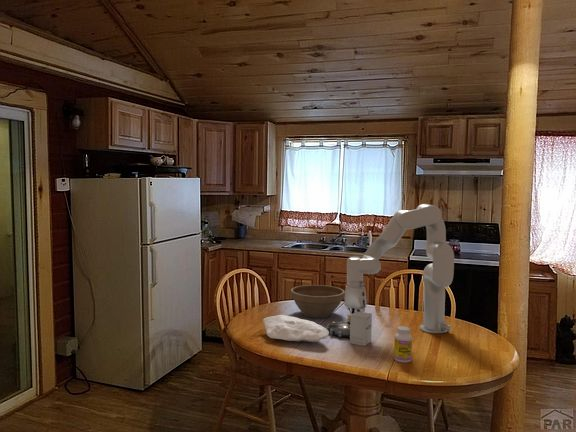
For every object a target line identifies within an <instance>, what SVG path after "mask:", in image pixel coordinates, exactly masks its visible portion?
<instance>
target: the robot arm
mask: <svg viewBox="0 0 576 432" xmlns="http://www.w3.org/2000/svg"><path fill="white" fill-rule="evenodd" d="M422 227H425V229H426V250H425V253H426V257H427V258H428V259H429V260H431V261H432V263H429V264H427V265H426V266H425V267H424V269H423V272H422V280H423V317H422V318H423V321H422V322H423V323H422V324H420V325H419V329H420V331H422V332H425V333H429V334H445V333H447V332H448V331H450V332H451V331H452V325H449V324H447V321H446V320H445V311H446V309H445V308H446V307H445V306H446V304H445V303H446V289H445V288H448V287H450V285H451V284H452V282H453V279H454V273H455V271H454V270H455V252H454V249H453V248H452V246H451V245H449V244H448V243H447V237H446V236H447V229H446V225H445V221H444V219H443V217H442V211H441V209H440V208H439V206H436V205H433V204H429V203H422V204H419V205H418V206H417V207H416V209H411V210H406V209H400V210H397V211H396V212H395V213H394V214H393V215H392V217H391V219H390V220H389V222H388V223H387V225H386V226H385V228H384V229H383V230H382V232H381V234H380V235H379V236H377V238H376V239H375V240H374V241H373V242H372V243H371V244H370V245H369V246H368V248H367V249H366V251H365V252H364V254H363V255H362V257H359V256H352V257H348V258H347V260H346V286H345V290H344V291H345V296H344V299H343V301H344V306H345V309H347V310H348V311H349V314H350V315H352V314H353V313H355V312H365V311H366V308H367V305H368V304H367V293H366V288H365V285H366V283H365V282H364V274H368V275H376V274H378V273H380V271H381V269H382V264H381V262H380V258H381V257H382V256H383V254H384V253H385V252H387V251H388V250H391V249H392V248H394V247H395V246H396V245H397V244H398V243H399V241H400V240H401V238H402V237H403V235H404V234H405V233H406V231H408V230H414V229H419V228H422ZM365 313H366V312H365Z"/></svg>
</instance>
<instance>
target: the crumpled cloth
mask: <svg viewBox="0 0 576 432" xmlns="http://www.w3.org/2000/svg"><path fill="white" fill-rule="evenodd" d="M262 321H263V325H264V327H265V331H266V335H267V336H268V337H269V338H270V339H276V340H284V341H287V342H288V341H289V342H292V341H294V342H309V343H310V342H312V343H315V342H316V343H319V342H320V341H322V340H326V338H328V337H329V334H330V332H329V331H328V330H327V327H324V326H323V325H320V324H318V323H316V322H314V321H311V320H308V319H302V318H299V317H295V316H290V315H287V314H285V315H284V314H278V315H273V316H268V317H265V318H263V319H262Z"/></svg>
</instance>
